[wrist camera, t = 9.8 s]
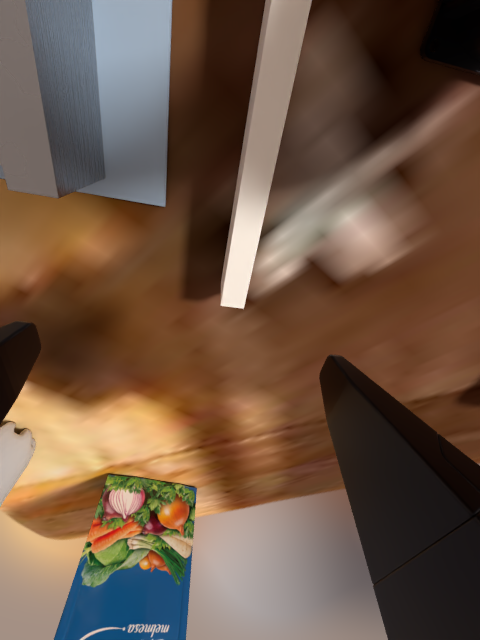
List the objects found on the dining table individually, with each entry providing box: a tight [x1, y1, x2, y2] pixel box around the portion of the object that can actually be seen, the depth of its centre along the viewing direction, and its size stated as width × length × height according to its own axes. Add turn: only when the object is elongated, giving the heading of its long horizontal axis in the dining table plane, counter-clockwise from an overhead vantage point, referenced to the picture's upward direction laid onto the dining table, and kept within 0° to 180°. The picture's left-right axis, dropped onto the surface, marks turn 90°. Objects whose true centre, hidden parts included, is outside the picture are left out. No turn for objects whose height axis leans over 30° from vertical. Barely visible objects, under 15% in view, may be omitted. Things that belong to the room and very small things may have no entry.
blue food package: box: [54, 474, 197, 640], centre depth 29 cm, size 6×12×25 cm, turn 67°
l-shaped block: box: [221, 0, 312, 309], centre depth 14 cm, size 20×20×4 cm
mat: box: [0, 0, 172, 207], centre depth 15 cm, size 10×10×1 cm
